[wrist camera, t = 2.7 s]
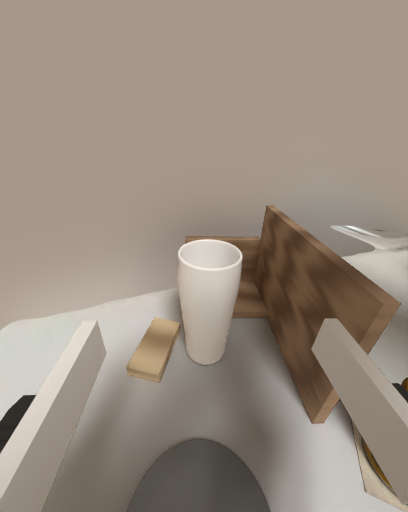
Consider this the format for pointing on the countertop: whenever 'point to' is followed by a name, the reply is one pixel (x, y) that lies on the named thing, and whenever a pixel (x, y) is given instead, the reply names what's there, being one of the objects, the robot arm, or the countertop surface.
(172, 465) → the coaster
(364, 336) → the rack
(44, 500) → the robot arm
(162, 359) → the offcut flat
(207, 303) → the drinking glass
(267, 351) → the countertop surface
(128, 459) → the countertop surface
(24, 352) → the countertop surface
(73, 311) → the countertop surface
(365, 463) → the condiment
